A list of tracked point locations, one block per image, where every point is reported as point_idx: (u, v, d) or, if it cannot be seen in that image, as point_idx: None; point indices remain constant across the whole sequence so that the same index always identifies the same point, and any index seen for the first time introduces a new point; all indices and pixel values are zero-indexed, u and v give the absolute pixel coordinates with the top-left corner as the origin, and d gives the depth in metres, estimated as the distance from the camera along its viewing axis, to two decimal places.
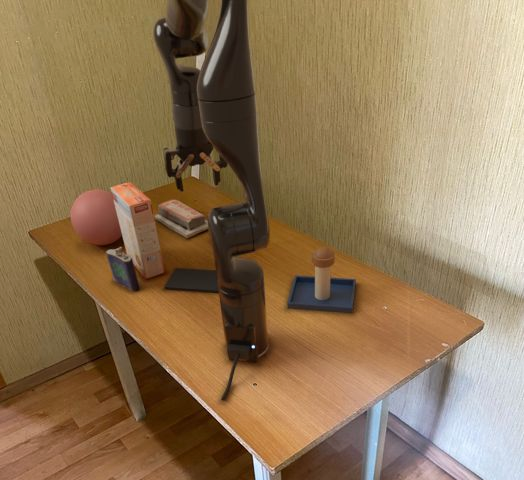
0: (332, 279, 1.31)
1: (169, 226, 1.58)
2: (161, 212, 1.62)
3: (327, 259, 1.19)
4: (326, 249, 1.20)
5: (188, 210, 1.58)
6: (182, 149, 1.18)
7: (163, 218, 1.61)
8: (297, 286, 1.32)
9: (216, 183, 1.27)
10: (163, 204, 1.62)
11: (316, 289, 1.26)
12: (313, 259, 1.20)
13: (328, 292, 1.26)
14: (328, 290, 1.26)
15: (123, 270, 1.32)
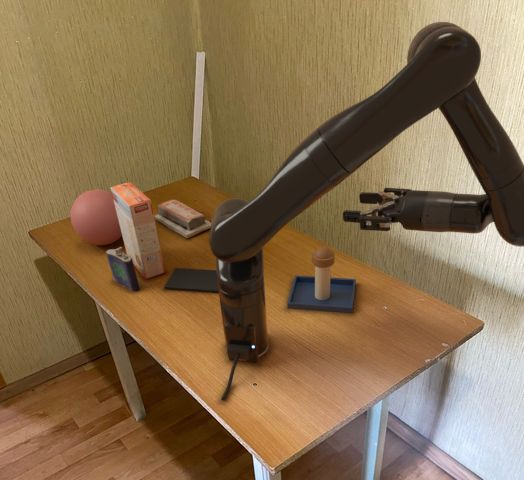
0: (332, 279, 1.31)
1: (169, 226, 1.58)
2: (161, 212, 1.62)
3: (327, 259, 1.19)
4: (326, 249, 1.20)
5: (188, 210, 1.58)
6: None
7: (163, 218, 1.61)
8: (297, 286, 1.32)
9: (346, 210, 1.06)
10: (163, 204, 1.62)
11: (316, 289, 1.26)
12: (313, 259, 1.20)
13: (328, 292, 1.26)
14: (328, 290, 1.26)
15: (123, 270, 1.32)
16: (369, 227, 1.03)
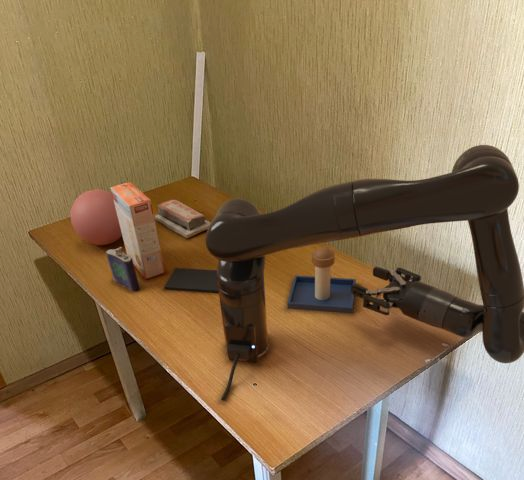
0: (332, 279, 1.31)
1: (169, 226, 1.58)
2: (161, 212, 1.62)
3: (327, 259, 1.19)
4: (326, 249, 1.20)
5: (188, 210, 1.58)
6: None
7: (163, 218, 1.61)
8: (297, 286, 1.32)
9: (355, 284, 1.13)
10: (163, 204, 1.62)
11: (316, 289, 1.26)
12: (313, 259, 1.20)
13: (328, 292, 1.26)
14: (328, 290, 1.26)
15: (123, 270, 1.32)
16: (371, 307, 1.10)
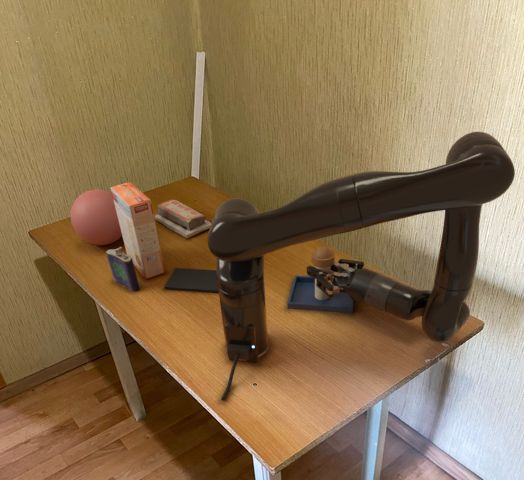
0: None
1: (169, 226, 1.58)
2: (161, 212, 1.62)
3: (327, 259, 1.19)
4: (326, 249, 1.20)
5: (188, 210, 1.58)
6: None
7: (163, 218, 1.61)
8: (297, 286, 1.32)
9: (310, 266, 1.23)
10: (163, 204, 1.62)
11: (316, 289, 1.26)
12: (313, 259, 1.20)
13: None
14: None
15: (123, 270, 1.32)
16: (321, 287, 1.19)
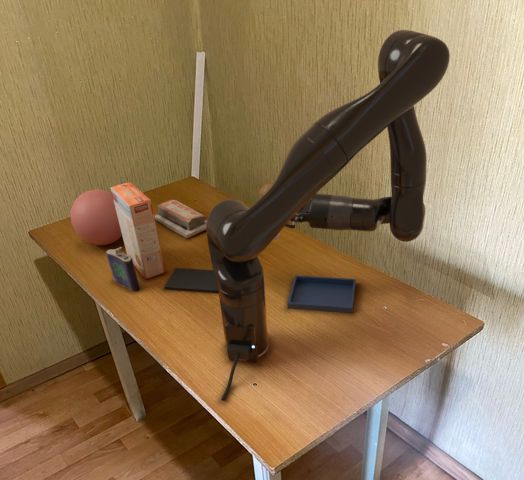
0: (332, 279, 1.31)
1: (169, 226, 1.58)
2: (160, 212, 1.62)
3: None
4: None
5: (188, 210, 1.58)
6: (310, 199, 1.22)
7: (163, 218, 1.61)
8: (297, 286, 1.32)
9: None
10: (162, 204, 1.62)
11: None
12: None
13: None
14: None
15: (123, 270, 1.32)
16: None
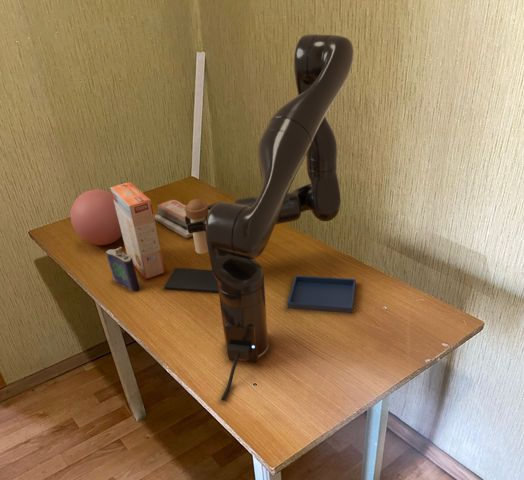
0: (332, 279, 1.31)
1: (169, 226, 1.58)
2: (160, 212, 1.62)
3: (205, 207, 1.22)
4: (198, 199, 1.22)
5: None
6: None
7: (162, 218, 1.61)
8: (297, 286, 1.32)
9: (189, 223, 1.23)
10: (162, 204, 1.62)
11: (200, 244, 1.27)
12: (193, 213, 1.21)
13: None
14: None
15: (123, 270, 1.32)
16: None
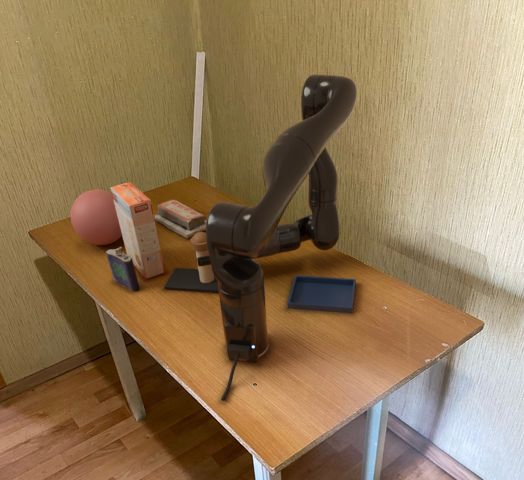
0: (332, 279, 1.31)
1: (169, 226, 1.58)
2: (160, 212, 1.62)
3: None
4: (203, 232, 1.28)
5: (188, 210, 1.58)
6: None
7: (162, 218, 1.61)
8: (297, 286, 1.32)
9: (199, 257, 1.26)
10: (162, 204, 1.62)
11: (204, 274, 1.33)
12: (198, 246, 1.27)
13: None
14: None
15: (123, 270, 1.32)
16: None
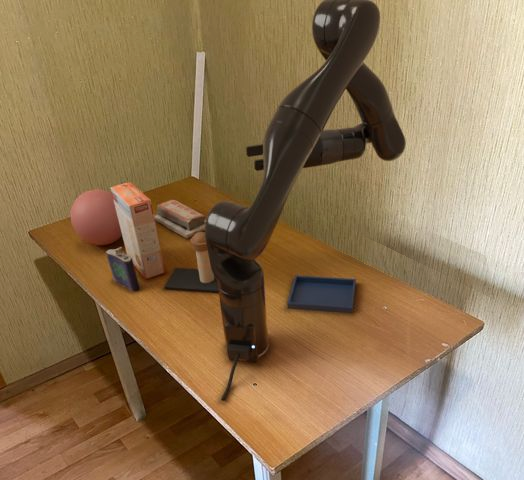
0: (332, 279, 1.31)
1: (168, 226, 1.58)
2: (160, 212, 1.62)
3: None
4: (203, 232, 1.28)
5: (187, 210, 1.58)
6: None
7: (162, 218, 1.61)
8: (297, 286, 1.32)
9: (257, 160, 1.15)
10: (162, 204, 1.61)
11: (204, 274, 1.33)
12: (198, 246, 1.27)
13: None
14: None
15: (123, 270, 1.32)
16: None
